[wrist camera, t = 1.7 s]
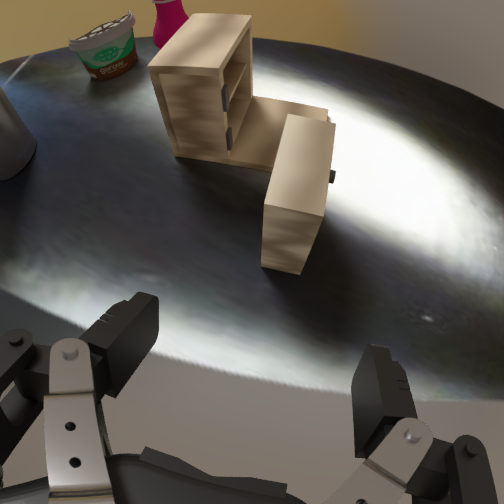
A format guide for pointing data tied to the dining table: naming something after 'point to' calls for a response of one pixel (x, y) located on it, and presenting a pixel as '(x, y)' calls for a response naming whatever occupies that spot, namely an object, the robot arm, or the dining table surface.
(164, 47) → the cabinet
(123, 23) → the food container
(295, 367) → the dining table surface
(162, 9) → the pepper mill
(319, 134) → the door
